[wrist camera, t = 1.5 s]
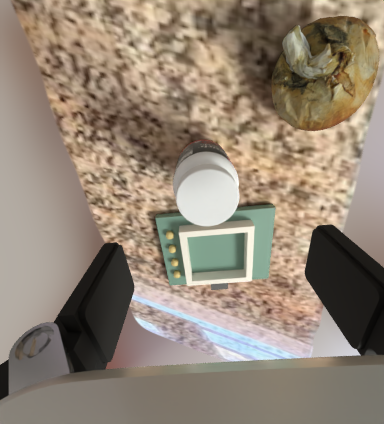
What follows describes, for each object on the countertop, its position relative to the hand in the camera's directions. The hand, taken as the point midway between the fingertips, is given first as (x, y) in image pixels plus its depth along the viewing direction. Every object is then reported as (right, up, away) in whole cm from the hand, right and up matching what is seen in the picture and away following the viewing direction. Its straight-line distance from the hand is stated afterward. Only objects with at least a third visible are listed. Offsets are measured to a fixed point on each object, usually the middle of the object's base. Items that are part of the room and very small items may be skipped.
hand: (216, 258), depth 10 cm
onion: (+9, +15, +10) cm, 20 cm away
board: (+2, -3, +19) cm, 19 cm away
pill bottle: (0, +8, +14) cm, 16 cm away
